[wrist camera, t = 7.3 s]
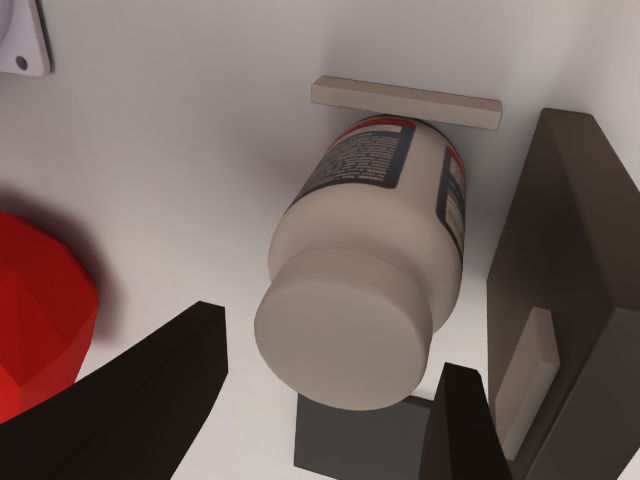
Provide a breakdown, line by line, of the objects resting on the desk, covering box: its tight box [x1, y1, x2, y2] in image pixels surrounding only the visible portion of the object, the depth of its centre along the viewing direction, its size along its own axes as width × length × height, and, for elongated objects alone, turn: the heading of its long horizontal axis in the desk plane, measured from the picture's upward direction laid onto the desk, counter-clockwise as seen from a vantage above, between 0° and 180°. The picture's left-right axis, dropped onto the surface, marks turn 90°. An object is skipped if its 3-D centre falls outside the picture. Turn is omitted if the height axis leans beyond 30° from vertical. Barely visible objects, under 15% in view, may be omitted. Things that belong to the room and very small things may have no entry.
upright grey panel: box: [311, 76, 640, 480], centre depth 14 cm, size 9×7×10 cm
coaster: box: [294, 393, 433, 480], centre depth 26 cm, size 8×8×1 cm
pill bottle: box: [254, 116, 466, 410], centre depth 14 cm, size 5×5×9 cm
